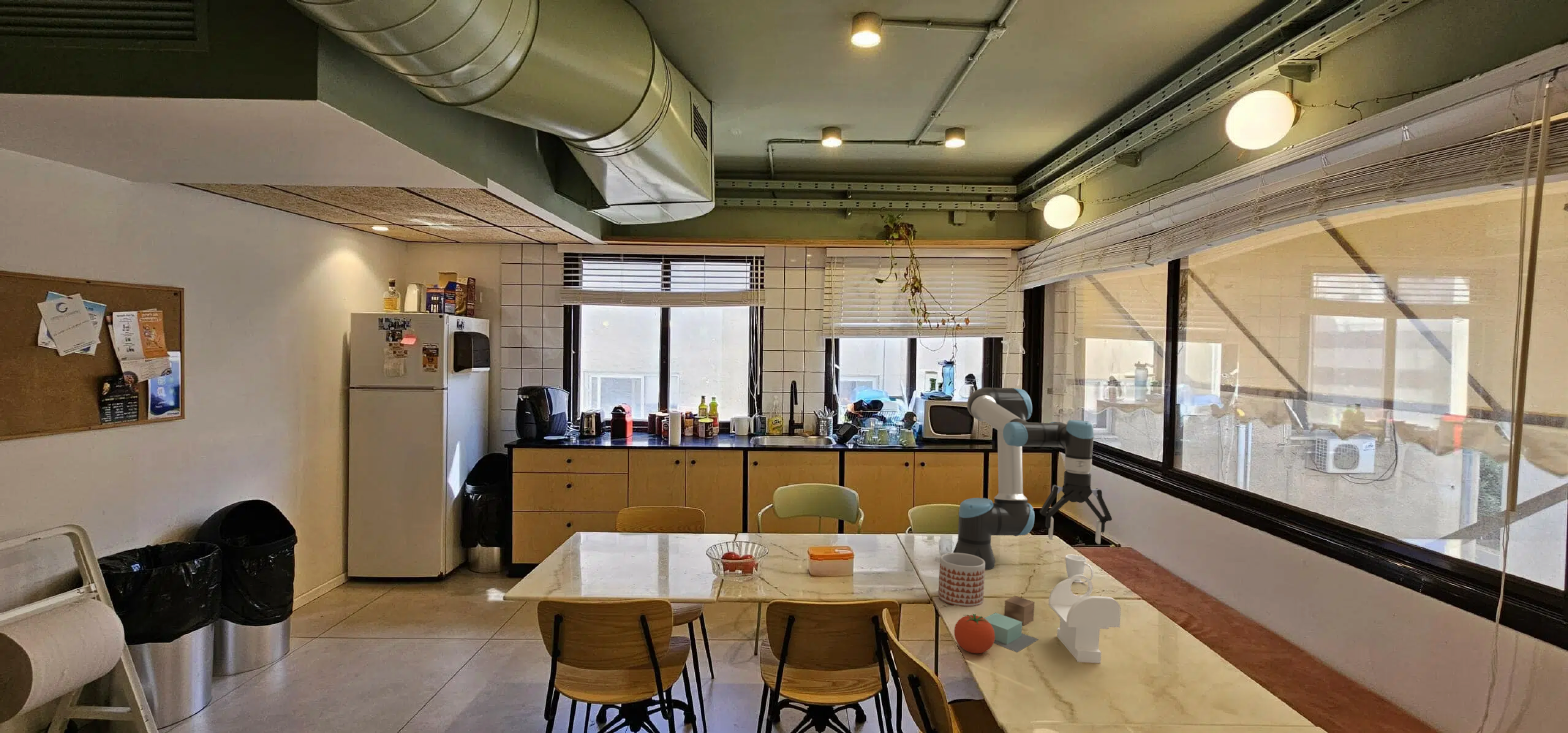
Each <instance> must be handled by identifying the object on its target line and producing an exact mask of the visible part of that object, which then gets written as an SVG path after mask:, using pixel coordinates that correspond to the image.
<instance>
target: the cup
mask: <svg viewBox="0 0 1568 733" xmlns="http://www.w3.org/2000/svg"><path fill="white" fill-rule="evenodd" d="M1064 557H1065V558H1064V559H1065V568H1066V574H1067V577H1068V578H1067V579H1070V578H1071V577H1072V576H1074V575H1078V574H1080V575H1084V572H1085V569H1086V566H1087V567H1089V569H1090V573H1091V574H1090V575H1091V576H1090V577H1089V579H1090V581H1091V580H1092V579H1093V578H1094V569H1093V567H1092V565H1091V564H1089V563H1087V558H1086V557H1084V556H1083V555H1079V554H1078V555H1077V554H1066V555H1065V556H1064ZM1073 583H1077V584H1078V583H1079V584H1085V583H1087V581H1086V580H1084V581H1082V579H1076V580H1075V581H1073Z"/></svg>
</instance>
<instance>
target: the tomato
mask: <svg viewBox="0 0 1568 733" xmlns="http://www.w3.org/2000/svg"><path fill="white" fill-rule="evenodd" d="M984 618H985V617H983V616H979V615H977V613H972V614H970V615H969V614H967V615H964V616H962V617H961V618H959V619H958V620H957V622H956V624H955V625H954V630H953V631H954V635H953V636H954V639H955V642H956V643H957V644H958V645H959V646H960V648H962V649H963V650H965V651H966V652H967V653H971V654H983V653H985V652H987V651H989V650H990V649H991V648H992V647H993V645H994V640H995V633H994V629H993V627H992V625H991V624H990V623H989V622H988V621H987V620H986V619H984Z"/></svg>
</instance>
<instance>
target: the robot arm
mask: <svg viewBox="0 0 1568 733" xmlns="http://www.w3.org/2000/svg"><path fill="white" fill-rule="evenodd" d="M966 407H967V411H968V412H969V414H970V415H971V416H972V418H974V419H975V420H977V421H980V422H985V423H986V424H988V425H990V426H991V427H992V428H993V429H994V430H997V473H998V476H997V478H998V480H997V481H998V482H997V483H998V486H997V488H998V493H997V495H995V496H994V501H992V500H991V499H990V498H986V497H971V498H967V499H964V500H963V501H961V502H960V504H959V510H958V527H957V528H958V529H957V542H956V544H955V547H954V549H953V552H952V553H965V554H970V555H974V556H977V557H980V558H982V559H983V560H984V561H985V571H988V570H991V569H993V568H995V565H996V564H995V563H996V560H995V556H994V552H993V548H992V543H991V542H992V537H993V536H1000V537H1001V536H1004V537H1005V536H1014V537H1018V536H1026V535H1028V534H1029V533H1030V532H1031V531H1032V529H1033V527H1034V524H1035V511H1034V508H1033V506H1032V505H1031V503H1029V502H1028V498H1027V496H1025V495H1024V488H1023V487H1024V478H1023V447H1040V448H1041V447H1042V448H1043V447H1046V448H1047V447H1049V448H1050V447H1051V448H1062V449H1065V454H1064V456H1065V457H1064V469H1065V471H1064V473H1063V485H1062V486H1058V485H1056V484H1053V485H1052V487H1051V491H1050V492H1049V495H1048V497H1047V498H1046V500H1045V501H1044V503H1043V505H1042V506H1041V508H1040V509H1039V513H1040V515H1041V516H1043V517H1045V522H1044V523H1045V524H1044V525H1045V527H1046V528H1047V529H1048V534H1047V535H1048V536H1047V537H1048V539H1049V540H1051V541H1053V538H1054V518H1055V517H1053V516H1054V515H1055V514H1056V513H1057V512H1058V511H1059V510H1060V509H1062V507H1064V505H1065V504H1067V503H1068V502H1071V503H1079V504H1082V503H1084V502H1085V503H1086V504H1087V506H1088V507H1089V508H1090V510H1091V511H1092V513H1094V515H1095V516H1096V517H1097V518H1098V519H1097V520H1096V519H1095V520H1096V522H1095V537H1094V538H1095V543H1096V544H1097V545H1101V538H1102V533H1105V529H1106V528H1105V527H1106V523H1107V522H1109V521H1110V522H1112V520H1113V517H1112V516H1111V513H1110V511H1109V509H1108V507H1107V505H1106V502H1105V500H1104V498H1103V492H1102V489H1100V488H1099V487H1097V488H1092V487H1091V486H1092V484H1091V483H1092V474H1091V472H1092V469H1093V468H1092V465H1093V450H1094V449H1093V448H1094V437H1095V433H1094V423H1093V422H1091V421H1088V420H1080V419H1070V420H1068V421H1067V422H1066V423H1064V422H1061V421H1060V422H1058V421H1051V422H1028V420H1029V419H1030V418H1031V416H1032V414H1033V404H1032V399H1031V397H1030V395H1029V394H1028V392H1027V391H1026V390H1024V389H1022V388H1015V387H981V388H977V389H976V390H975V391H973V392H972V393H971V394H970V395H969V397H968V399H967V401H966ZM1060 492H1062V493H1063V495H1062V496H1061V497H1060V499H1059V500H1058V501H1056V503H1055V504H1054V505H1053V506H1052V504H1053V502H1054V501H1055V499H1056V497H1057V495H1058V494H1060ZM1092 494H1093V496H1094V497H1096V499H1097V501H1098V504H1099V506H1100V508H1101V510H1102V512H1103V515H1104V516H1103V515H1102V514H1101V512H1100V511H1099V510H1098V508H1097V507H1096V506H1095V505H1094V503H1093V502H1092V501H1091V499H1090V496H1091V495H1092Z"/></svg>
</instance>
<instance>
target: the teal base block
mask: <svg viewBox="0 0 1568 733" xmlns="http://www.w3.org/2000/svg"><path fill="white" fill-rule="evenodd" d="M983 618H984V619H986V620H987V621H988V622H989V623H990V624H991V625H992V627H993V629H994V633H995V640H996V641H999V642H1002V643H1004V644H1009V643H1010V642H1012V641H1014V640H1016V639H1018V638H1019V637H1021V635H1022V632H1023V626H1022V622H1021V621H1018V620H1015V619H1012V618H1009V617H1007V616H1004V614H1001V613H998V612H994V613H992V614H989V615H988V616H986V617H983Z"/></svg>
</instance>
